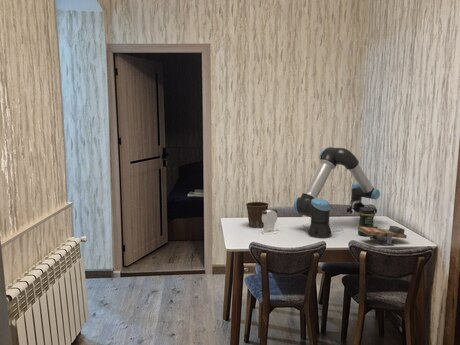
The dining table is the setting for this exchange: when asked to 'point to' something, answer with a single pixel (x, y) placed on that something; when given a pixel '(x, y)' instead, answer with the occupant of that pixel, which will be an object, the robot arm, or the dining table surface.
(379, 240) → the beam stand
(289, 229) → the dining table surface
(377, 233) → the seesaw beam
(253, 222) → the plant pot
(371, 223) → the coffee jar
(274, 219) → the white sculpture
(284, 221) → the dining table surface
